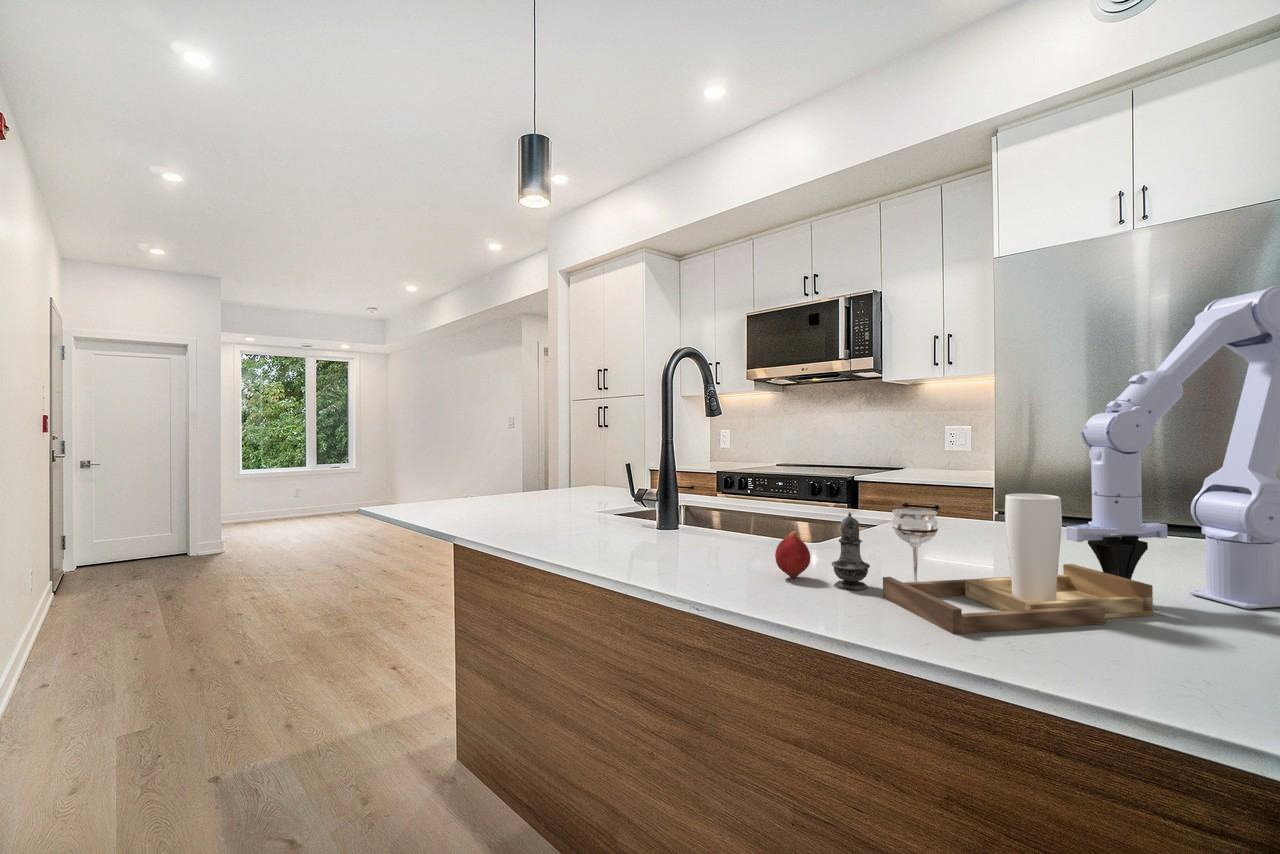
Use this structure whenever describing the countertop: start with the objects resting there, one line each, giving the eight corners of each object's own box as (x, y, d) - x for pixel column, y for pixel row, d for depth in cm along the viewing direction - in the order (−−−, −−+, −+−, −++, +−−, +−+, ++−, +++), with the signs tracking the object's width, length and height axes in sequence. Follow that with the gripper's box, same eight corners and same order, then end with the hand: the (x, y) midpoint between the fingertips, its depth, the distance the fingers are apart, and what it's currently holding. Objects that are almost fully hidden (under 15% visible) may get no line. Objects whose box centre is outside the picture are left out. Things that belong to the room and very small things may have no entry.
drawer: (1072, 589, 95) (1072, 563, 95) (1152, 615, 82) (1152, 585, 82) (965, 596, 93) (964, 569, 93) (1030, 623, 80) (1030, 592, 80)
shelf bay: (1011, 589, 96) (1010, 570, 96) (1104, 623, 80) (1104, 600, 80) (883, 597, 93) (882, 577, 93) (952, 633, 77) (952, 609, 77)
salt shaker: (871, 583, 101) (870, 510, 101) (868, 592, 96) (867, 515, 96) (834, 580, 103) (833, 509, 103) (829, 589, 98) (828, 513, 98)
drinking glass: (1072, 610, 83) (1071, 499, 83) (1017, 608, 85) (1016, 498, 85) (1049, 596, 90) (1047, 493, 90) (998, 594, 91) (997, 493, 91)
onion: (776, 581, 103) (775, 534, 103) (774, 573, 109) (773, 528, 109) (812, 582, 102) (811, 534, 102) (808, 574, 108) (807, 528, 108)
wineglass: (898, 579, 104) (897, 507, 104) (942, 584, 100) (941, 510, 100) (888, 588, 98) (886, 512, 98) (934, 594, 94) (933, 515, 94)
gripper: (1135, 490, 94) (1136, 579, 94) (1048, 493, 92) (1050, 584, 92) (1181, 495, 87) (1182, 592, 87) (1089, 499, 85) (1090, 597, 85)
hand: (1117, 589), depth 89 cm, fingers closed
